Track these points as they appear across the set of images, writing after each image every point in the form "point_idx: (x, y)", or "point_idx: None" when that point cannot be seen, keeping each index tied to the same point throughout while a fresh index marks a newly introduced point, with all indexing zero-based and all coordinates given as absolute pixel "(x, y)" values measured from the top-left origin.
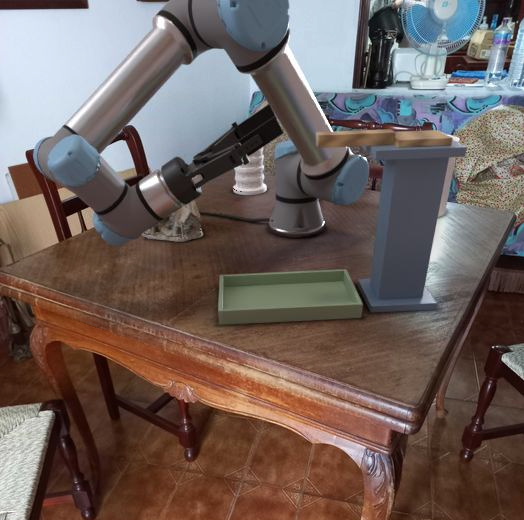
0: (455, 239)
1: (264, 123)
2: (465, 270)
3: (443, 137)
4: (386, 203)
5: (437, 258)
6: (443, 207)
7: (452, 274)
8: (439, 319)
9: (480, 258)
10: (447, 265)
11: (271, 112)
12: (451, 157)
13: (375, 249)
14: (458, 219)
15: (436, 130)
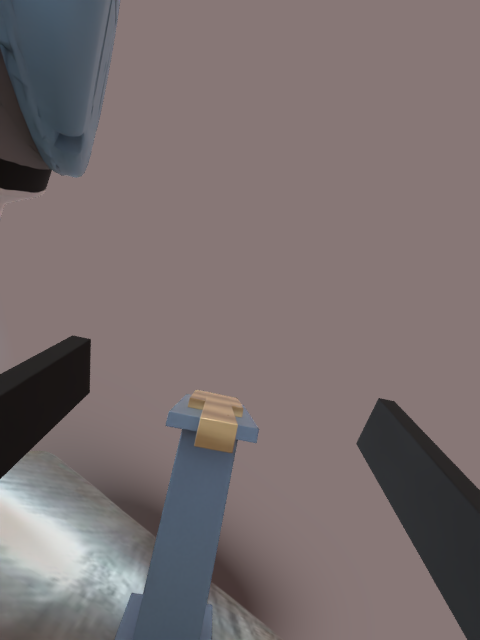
0: (51, 504)
1: (420, 432)
2: (128, 535)
3: (234, 398)
4: (204, 503)
5: (80, 544)
6: None
7: (130, 551)
8: (234, 624)
9: (111, 510)
10: (106, 544)
11: (85, 369)
12: None
13: (151, 605)
14: (9, 477)
15: (198, 390)
